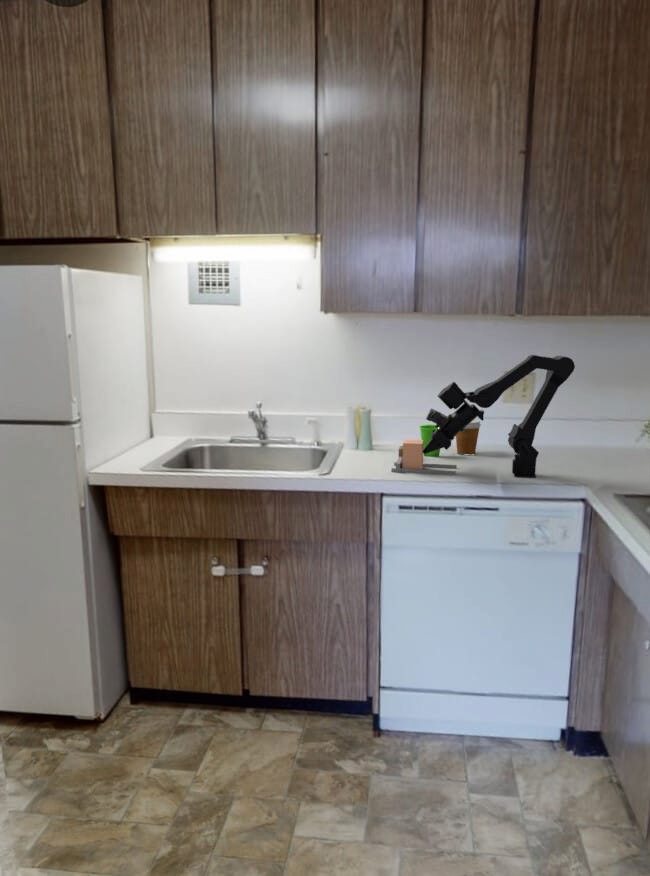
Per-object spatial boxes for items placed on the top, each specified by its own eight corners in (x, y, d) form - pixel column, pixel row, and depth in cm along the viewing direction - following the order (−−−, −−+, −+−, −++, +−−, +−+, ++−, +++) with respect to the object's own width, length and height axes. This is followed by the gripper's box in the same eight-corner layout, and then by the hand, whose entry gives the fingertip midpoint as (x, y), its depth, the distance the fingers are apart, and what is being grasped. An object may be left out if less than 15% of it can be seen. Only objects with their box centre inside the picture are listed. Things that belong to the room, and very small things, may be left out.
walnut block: (414, 460, 231) (414, 446, 230) (413, 463, 226) (413, 449, 225) (399, 459, 232) (400, 445, 231) (398, 463, 227) (398, 448, 226)
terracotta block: (422, 467, 216) (423, 440, 214) (421, 471, 210) (422, 443, 209) (404, 466, 217) (404, 439, 216) (402, 471, 212) (402, 443, 210)
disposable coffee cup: (447, 453, 241) (448, 421, 239) (461, 449, 248) (462, 417, 246) (471, 457, 235) (472, 423, 232) (484, 453, 242) (485, 420, 240)
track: (456, 470, 216) (456, 459, 215) (455, 478, 206) (456, 466, 206) (394, 467, 220) (394, 456, 219) (391, 475, 210) (391, 463, 210)
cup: (448, 456, 237) (448, 425, 235) (438, 461, 229) (439, 429, 227) (424, 453, 241) (425, 423, 239) (414, 458, 234) (415, 427, 231)
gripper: (443, 396, 217) (408, 429, 221) (440, 404, 199) (403, 439, 203) (467, 421, 217) (431, 453, 221) (466, 431, 199) (428, 466, 203)
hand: (423, 452), depth 212 cm, fingers closed
